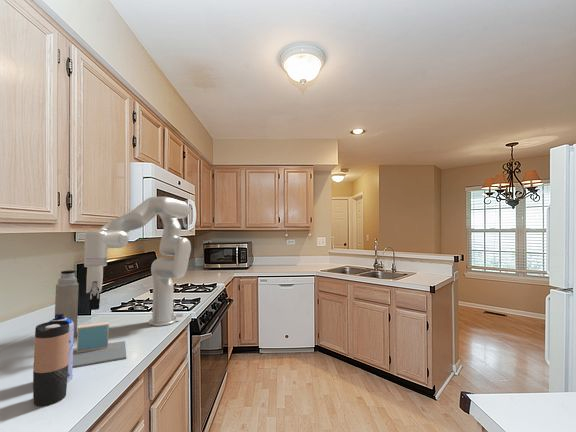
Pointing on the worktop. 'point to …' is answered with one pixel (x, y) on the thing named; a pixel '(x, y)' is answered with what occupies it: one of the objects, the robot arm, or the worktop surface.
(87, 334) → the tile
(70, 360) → the aerosol can
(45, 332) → the travel mug
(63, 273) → the thermos bottle
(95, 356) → the mat
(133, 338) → the worktop surface
